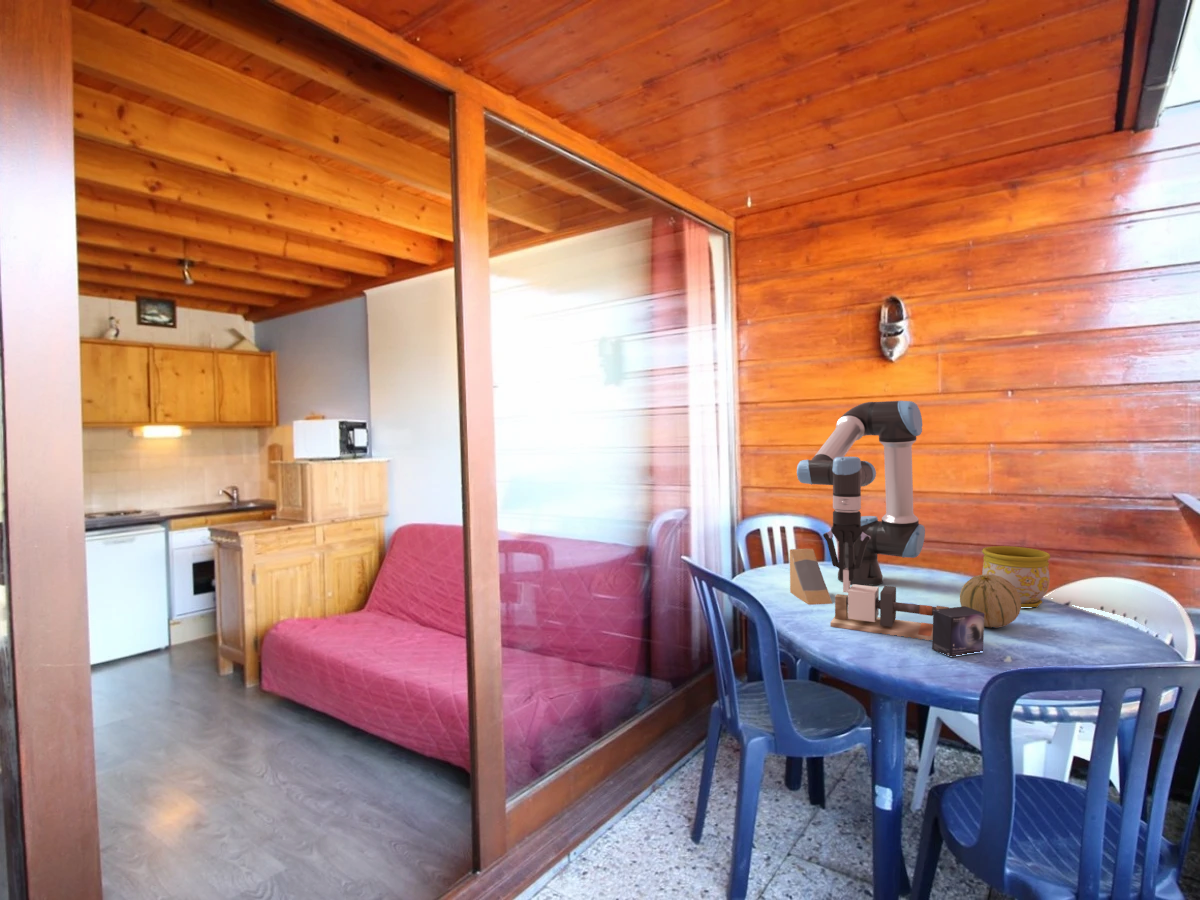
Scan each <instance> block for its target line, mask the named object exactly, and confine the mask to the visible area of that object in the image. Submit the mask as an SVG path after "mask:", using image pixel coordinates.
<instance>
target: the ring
mask: <svg viewBox="0 0 1200 900" xmlns="http://www.w3.org/2000/svg"><path fill="white" fill-rule="evenodd" d="M879 600H880V609H879V617H880V625H882V626H890V627H892V626H893V623H894V621H895V619H896V620H897V611H893V602H897V586H891V585H884V586H883V587H882V589H881V591H880V593H879Z"/></svg>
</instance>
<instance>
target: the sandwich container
mask: <svg viewBox="0 0 1200 900" xmlns="http://www.w3.org/2000/svg"><path fill="white" fill-rule="evenodd" d="M789 589H790V590H789V591H790V593H791V594H792V595H794V597H796V598H797V599H799V600H800V601H801V602H803V603H805V604H806V605H809V606H811V605H815V606H816V605H832V604H833V601H832V598H831V596H830V593H829V590H828V587H827V584H826V582H825V580H824V577H823V574H822V571H821V568H820V565H819V562H818V559H817V557H816V553H815V549H814V548H794V549H793V548H791V549H789Z"/></svg>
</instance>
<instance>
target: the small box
mask: <svg viewBox="0 0 1200 900" xmlns="http://www.w3.org/2000/svg"><path fill="white" fill-rule="evenodd" d="M932 624H933V641H931V642H932V643H931V644H932V645H931V649H932V650H933V651H936V652H937V651H938V652H937V653H939V652H941V653H944V654H946V655H949V656H956V655H962V654H967V653H974V652H980V651H983V652H984V645H985V643H984V641H985V640H984V636H985V627H984V613H982V612H979V611H977V610H974V609H971V608H969V607H966V606H962V607H961V606H955V607H949V608H945V609H936V610H933V616H932ZM941 653H940V654H941ZM944 654H943V655H944ZM946 655H945V656H946Z"/></svg>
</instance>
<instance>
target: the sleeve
mask: <svg viewBox="0 0 1200 900" xmlns="http://www.w3.org/2000/svg"><path fill="white" fill-rule="evenodd" d="M879 591H880V588H879V586H875V585H856V584H851V585H850V589H849V590H848V593H847V595H848V619H855V620H863V621H870V622H875V620H876V619H877V617H879V616H880V609H876V600H880V593H879Z"/></svg>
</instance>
